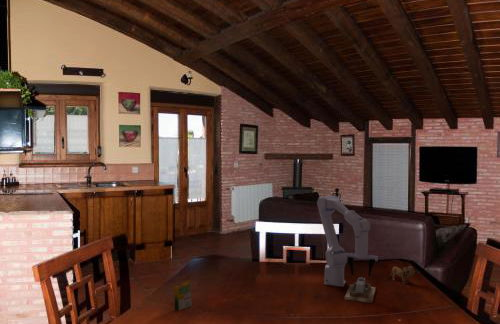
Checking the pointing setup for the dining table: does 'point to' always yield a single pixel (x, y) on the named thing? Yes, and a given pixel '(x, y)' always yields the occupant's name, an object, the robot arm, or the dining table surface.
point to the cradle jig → (362, 297)
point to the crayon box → (182, 295)
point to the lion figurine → (403, 273)
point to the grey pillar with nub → (360, 285)
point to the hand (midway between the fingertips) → (360, 274)
